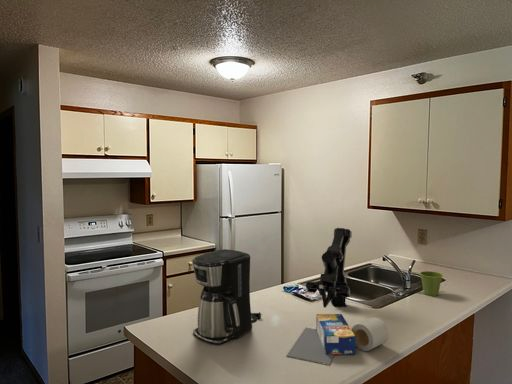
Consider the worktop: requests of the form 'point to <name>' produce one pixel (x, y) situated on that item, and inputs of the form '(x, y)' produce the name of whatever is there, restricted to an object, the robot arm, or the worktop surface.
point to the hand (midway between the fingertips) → (324, 307)
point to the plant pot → (431, 282)
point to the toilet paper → (370, 334)
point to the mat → (310, 348)
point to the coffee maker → (223, 295)
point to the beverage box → (335, 334)
